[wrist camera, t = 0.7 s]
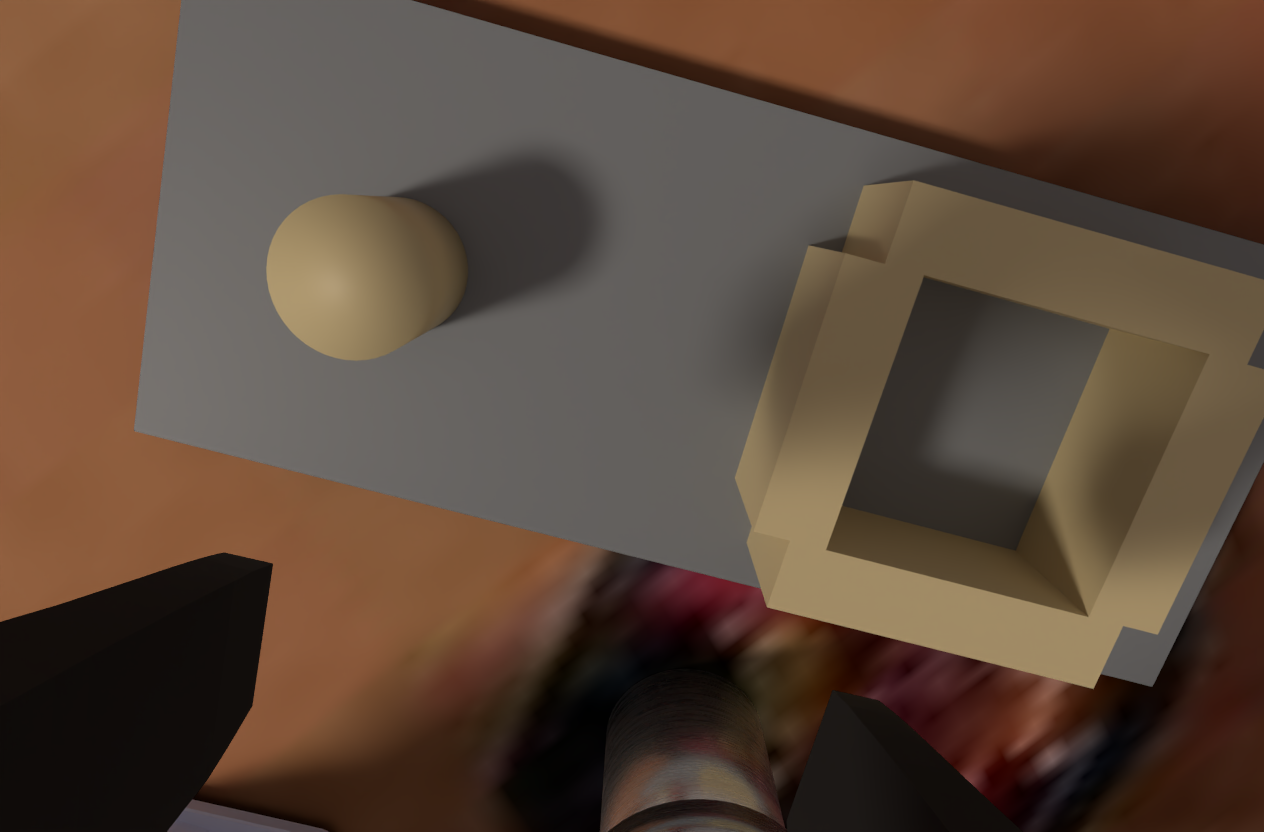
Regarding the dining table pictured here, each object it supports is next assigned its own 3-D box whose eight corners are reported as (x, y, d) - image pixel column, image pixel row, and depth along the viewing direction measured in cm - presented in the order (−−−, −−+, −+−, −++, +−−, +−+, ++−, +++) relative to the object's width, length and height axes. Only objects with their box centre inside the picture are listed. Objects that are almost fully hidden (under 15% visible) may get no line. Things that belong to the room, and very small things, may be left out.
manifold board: (1126, 663, 20) (1246, 774, 16) (160, 419, 18) (31, 475, 14) (1316, 268, 17) (1515, 284, 13) (216, -48, 16) (78, -130, 12)
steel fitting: (745, 833, 21) (786, 1071, 15) (570, 792, 21) (543, 1018, 15) (802, 680, 20) (868, 873, 14) (617, 634, 20) (607, 813, 14)
